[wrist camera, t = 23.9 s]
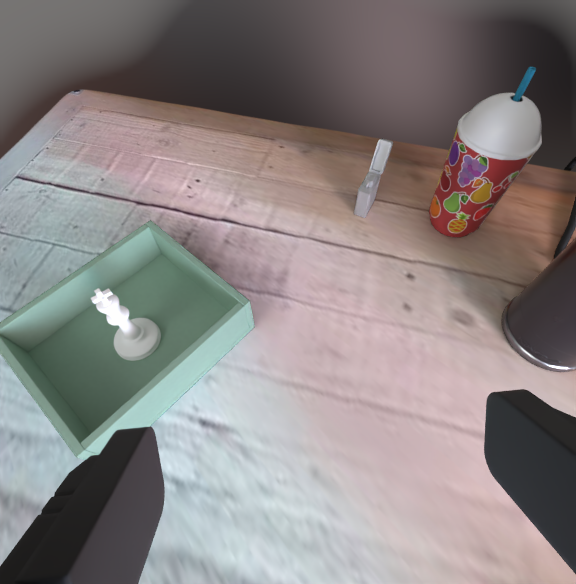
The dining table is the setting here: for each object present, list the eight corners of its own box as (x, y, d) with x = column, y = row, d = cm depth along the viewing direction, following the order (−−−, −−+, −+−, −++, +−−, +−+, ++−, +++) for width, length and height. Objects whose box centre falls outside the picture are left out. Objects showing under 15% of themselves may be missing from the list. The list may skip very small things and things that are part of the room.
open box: (164, 250, 48) (150, 219, 43) (255, 326, 42) (250, 301, 37) (22, 355, 40) (-16, 332, 36) (107, 467, 34) (76, 457, 29)
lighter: (364, 218, 51) (376, 170, 44) (353, 213, 51) (362, 166, 44) (381, 186, 54) (394, 137, 47) (370, 182, 55) (381, 134, 48)
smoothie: (492, 216, 51) (592, 62, 34) (469, 255, 47) (568, 105, 30) (435, 192, 53) (502, 37, 36) (409, 227, 50) (470, 74, 33)
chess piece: (108, 336, 41) (59, 286, 32) (148, 312, 42) (112, 259, 34) (127, 369, 39) (80, 326, 30) (169, 343, 40) (135, 295, 32)
